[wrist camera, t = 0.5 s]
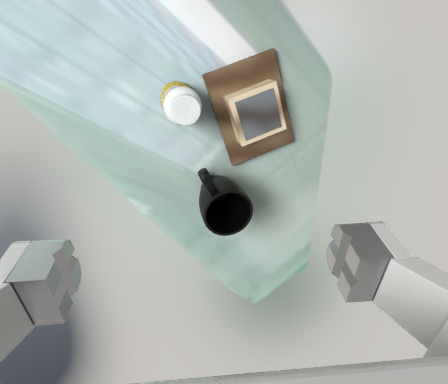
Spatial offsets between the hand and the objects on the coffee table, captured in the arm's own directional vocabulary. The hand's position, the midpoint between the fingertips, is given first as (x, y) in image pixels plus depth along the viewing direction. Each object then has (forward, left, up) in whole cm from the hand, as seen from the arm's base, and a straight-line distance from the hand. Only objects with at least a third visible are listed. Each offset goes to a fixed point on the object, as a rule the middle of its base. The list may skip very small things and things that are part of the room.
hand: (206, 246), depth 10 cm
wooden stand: (+10, +14, -43) cm, 47 cm away
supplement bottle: (+4, +3, -44) cm, 44 cm away
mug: (+19, +4, -44) cm, 48 cm away
